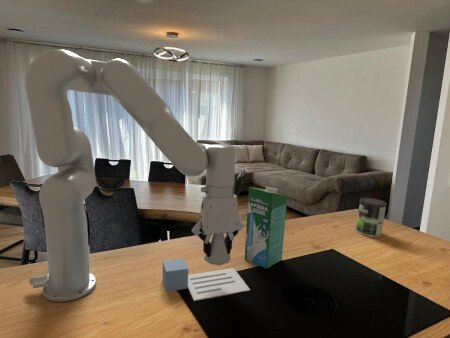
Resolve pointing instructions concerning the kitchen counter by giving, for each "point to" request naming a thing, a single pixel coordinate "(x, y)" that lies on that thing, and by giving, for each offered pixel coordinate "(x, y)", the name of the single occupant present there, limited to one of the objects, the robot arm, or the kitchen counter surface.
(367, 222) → the coffee can
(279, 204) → the milk carton
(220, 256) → the flask
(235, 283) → the letter
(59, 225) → the robot arm
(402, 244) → the kitchen counter surface
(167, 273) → the blue cube
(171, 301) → the kitchen counter surface
